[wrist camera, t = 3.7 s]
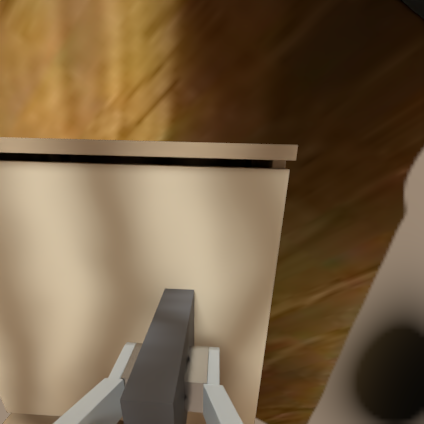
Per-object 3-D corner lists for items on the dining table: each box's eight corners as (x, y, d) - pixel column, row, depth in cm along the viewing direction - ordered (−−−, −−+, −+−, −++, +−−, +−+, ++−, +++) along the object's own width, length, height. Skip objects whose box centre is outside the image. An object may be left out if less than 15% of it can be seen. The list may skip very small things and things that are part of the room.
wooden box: (96, 311, 25) (3, 431, 14) (66, 144, 19) (-133, 133, 8) (238, 318, 24) (253, 449, 14) (252, 149, 18) (298, 144, 8)
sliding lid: (15, 402, 15) (-101, 543, 10) (-83, 157, 10) (-462, 164, 4) (252, 418, 14) (271, 576, 9) (285, 168, 9) (379, 190, 4)
